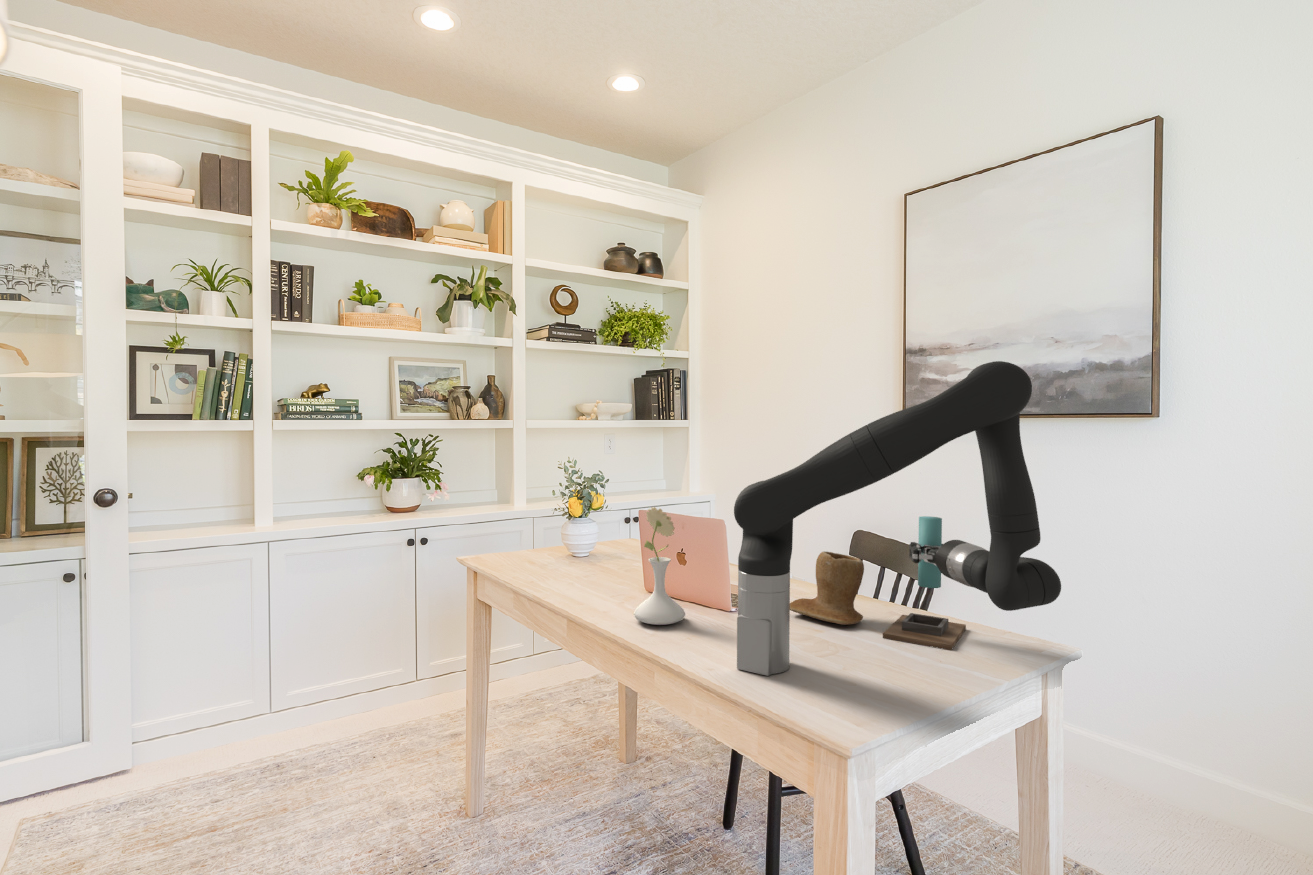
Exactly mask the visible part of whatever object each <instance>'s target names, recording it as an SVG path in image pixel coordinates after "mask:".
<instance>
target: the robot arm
mask: <svg viewBox="0 0 1313 875" xmlns="http://www.w3.org/2000/svg"><path fill="white" fill-rule="evenodd" d="M1031 380H1032V379H1031V378H1030V375H1029V374H1028V373H1027V372H1026V371H1025V370H1024V369H1023V368H1021V367H1020V366H1019V365H1016V364H1015V363H1012V362H1008V361H1002V360H997V361H991V362H986V363H984V364H981V365H979V366H976V367H975V368H973V369H972V370H971V371H970V372H969V373H968V374H967V376H966V377H964V378H963V379H962V380H960V381H958V382H957V383H955V384H954V385H952V386H951V387H949V388H948V389H945V390H944V391H942V392H941V393H939V394H937V395H935V396H934V397H932V398H930V399H928V400H926V401H924V402H921V403H919V404H915V405H913V406H910V407H907V408H904V409H901V410H899V411H896V412H893V413H890V414H888V415H885V416H882V417H881V418H878V419H876V420H873V421H871V422H869V423H868V424H866V425H864V426H861V427H860V428H858V429H856V430H853V431H852V432H850V433H848V434H846V435H844V436H843V437H841V438H839V439H838V440H836V441H834V442H833V443H831V444H830V445H828V446H826V447H825V448H823V449H822V450H820V451H819V452H817V453H816V454H815V455H813V456H812V457H811V458H809V459H807V460H806V461H804V462H802V463H800V464H799V465H798V466H795V467H794V468H792V469H790V470H788V471H784V472H782V473H781V474H778V475H775V476H773V477H771V478H768V479H765V480H761V481H756V482H754V483H751V484H749V485H747V486H746V487H745V488H743V490H741V491H740V493H738V495H737V498H736V500H735V501H734V502H735V503H734V506H733V515H734V519H735V521H736V523H737V525H738V526H739V528H741V530H742V541H741V547H740V551H739V554H738V557H737V560H738V562H737V566H738V567H737V569H738V570H737V574H738V575H737V579H738V580H737V581H738V582H737V584H738V585H737V617H736V669H737V670H741V671H745V672H750V673H755V674H758V675H762V676H766V677H770V676H771V675H775V674H780V673H784V672H786V671H787V670H789V668H790V635H791V634H790V631H791V630H790V629H791V628H790V627H791V626H790V624H791V622H790V621H791V620H790V616H791V613H790V612H791V610H790V603H791V602H790V600H791V599H790V598H791V593H790V592H791V559H792V554H793V540H794V538H793V537H794V535H793V533H794V519H795V518H797V517H799V516H800V515H802V514H803V513H805V512H807V511H809V510H810V509H813V508H815V507H817V506H818V505H821V504H823V503H826V502H828V501H831V500H834V499H837V498H840V497H843V496H846V495H848V494H851V493H853V492H857V491H858V490H861V489H864V488H865V487H868V486H870V485H873V484H875V483H877V482H879V481H882V480H883V479H885V478H888V477H889V476H892V475H893V474H896V473H898V472H899V471H901V470H903V469H905V468H907V467H909V466H911V465H913V464H914V463H916V462H918V461H920V460H921V459H924V458H925V457H926V456H928V455H929V454H931V453H933V452H935V451H936V450H937V449H939V448H941V447H942V446H943V447H944V446H945V445H946V444H948V443H950V442H952V441H954V440H956V439H959V438H960V437H962V436H965V435H968V434H970V433H973V432H975V436H976V440H977V444H978V450H979V455H980V460H981V466H982V467H981V468H982V476H983V485H984V494H985V503H986V510H987V517H988V524H989V529H990V530H989V532H990V543H989V550H987V549H986V548H984V547H981V546H979V545H976V544H973V543H970V542H967V541H964V540H960V539H951V540H948V541H946V542H944V543H942V546H941V545H939V546H935V545H931V544H927V545H921V544H919V542H918V543H917V542H915V541H910V543H909V546H908V547H909V548H908V551H909V555H908V558H909V559H910V560H911V562H912V563H915V564H918V563H920V562H921V559H923V560H924V561H925V562H929V563H932V564H934V565H935V566H937V567H938V569H939V570H940V572H941V575H943V576H945V577H947V578H949V579H951V580H953V581H955V582H957V583H959V584H962V585H964V586H967V587H971V588H975V589H976V590H979V591H981V592H983V593H986V594H987V596H988V597H989V599H990V601H991V602H992V603H993V604H994V606H996V607H997V608H998V609H1000V610H1002V611H1006V612H1007V611H1009V612H1011V611H1019V610H1024V609H1029V608H1035V607H1040V606H1045V605H1049V604H1051V603H1053V602H1054V601H1056V600H1057V599H1058V597H1060V595H1061V591H1062V583H1061V582H1062V581H1061V578H1060V576H1059V574H1058V572H1056V571H1055V569H1054V568H1053V567H1052V566H1050V564H1048V563H1047V562H1045V561H1042V560H1040V559H1037V558H1033V557H1026V556H1025V557H1024V556H1022V555H1023V554H1024V553H1025V552H1027V551H1030V550H1032V549H1034V548H1036V547H1038V545H1040V543H1041V539H1042V538H1041V529H1040V522H1039V514H1038V508H1037V503H1036V502H1037V501H1036V496H1035V492H1034V487H1033V485H1032V481H1031V477H1030V474H1029V470H1028V467H1027V463H1026V461H1025V456H1024V452H1023V445H1022V440H1021V439H1022V438H1021V426H1020V423H1021V422H1020V421H1021V419H1020V417H1021V416H1020V415H1021V412H1022V411H1024V409H1025V408H1026V407H1027V405H1028V403H1029V402H1030V400H1031V397H1032V392H1033V384H1032V381H1031ZM923 550H924V553H923Z"/></svg>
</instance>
